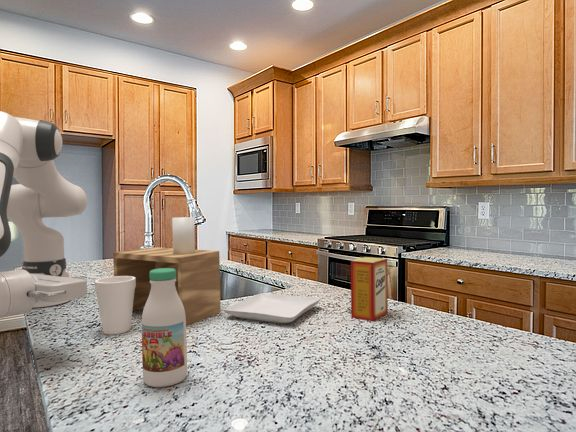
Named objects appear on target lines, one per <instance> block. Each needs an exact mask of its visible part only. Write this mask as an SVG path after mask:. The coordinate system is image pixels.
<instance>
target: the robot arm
mask: <svg viewBox="0 0 576 432" xmlns="http://www.w3.org/2000/svg"><path fill="white" fill-rule="evenodd" d="M62 147H63V136H62V134H61V132H60V129H59V127H57V126H56V124H54V123H53V122H50V121H46V120H44V119H43V120H42V119H41V120H37V119H32V118H25V117H19V116H18V117H17V116H13V115H11V114H9V113H8V112H5V111H1V110H0V258H1V257H2V256H4V255H5V254H6V252H8V249H9V248H10V245H11V244H12V231H11V227H10V225H9V221H11V222H12V223H13V225H14V226H15V227H16V228H17V229H18V231H19V233H20V235H21V239H22V243H23V252H24V261H23V262H22V265H21V269H14V270H8V271H6V270H5V271H0V319H4V318H8V317H12V316H16V315H17V316H18V315H22V314H26V313H29V312H30V311H31V310H32V309H33V308H43V307H50V306H57V305H61V304H64V303H67V302H70V301H72V300H76V299H81V298H84V297H85V296H87V295H88V284H87V283H88V282H87V280H86V279H85V277H83V276H70V274H69V272H67V271H66V269H67V260H66V259H67V258H65V244H64V243H65V242H64V237H63V234H62V233H61V232H60V231H59V230H56V229H55V228H51V227H50V226H47V225H45V224H44V222H43V220H42V219H43V218H69V217H73V216H78V215H79V216H80V215H81V214H82V213H83V212H84V211H85V209H86V208H87V205H88V196H87V194H86V192H85V190H84V189H83V188H82V187H81V186H79V185H76V184H75V183H72V182H70V181H68V180H67V179H66V178H64V177H63V176H62V175H61V174H60V172H59V171H58V169H57V166H56V164H55V160H56V158H58V157H59V156H60V155H61V151H62ZM13 178H14V179H15V181H16V182H18V183H16V184H13Z"/></svg>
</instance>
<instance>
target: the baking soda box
mask: <svg viewBox="0 0 576 432" xmlns="http://www.w3.org/2000/svg"><path fill="white" fill-rule="evenodd" d="M350 309H351V310H350V311H351V312H350V318H351V319H356V320H357V319H358V320H363V321H368V322H373V323H374V322H375V321H377V320H379V319H381V318H382V317H384V316H385V315H387V314H388V311H389V310H388V258H385V257H384V258H383V257H372V256H364V257H358V258H355V259H352V260H350Z"/></svg>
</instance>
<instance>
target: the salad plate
mask: <svg viewBox="0 0 576 432" xmlns="http://www.w3.org/2000/svg"><path fill="white" fill-rule="evenodd" d="M321 300H322V299H321V297H313V296H301V295H292V294H280V293H279V294H277V293H276V294H275V293H262V292H261V293H257V294H255V295H253V296H250V297H247V298H245V299H243V300H241V301H239V302H236V303H234V304H232V305H230V306H227V307H226V308H225V309H224V311H225V312H226V313H227V314H229V315H231V316H232V317H236V318H239V319H240V318H241V319H244V320H245V319H246V320H250V321H251V320H252V321H259V322H266V323H267V322H268V323H273V324H274V323H275V324H288V323H292V322H294V321H295V320H296V319H297V318H299V317H300V316H302V315H303V314H305V313H307V312H308V311H309V310H311V309H312V308H314V307H315V306H317V305H318V304H319V302H320V301H321Z"/></svg>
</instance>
